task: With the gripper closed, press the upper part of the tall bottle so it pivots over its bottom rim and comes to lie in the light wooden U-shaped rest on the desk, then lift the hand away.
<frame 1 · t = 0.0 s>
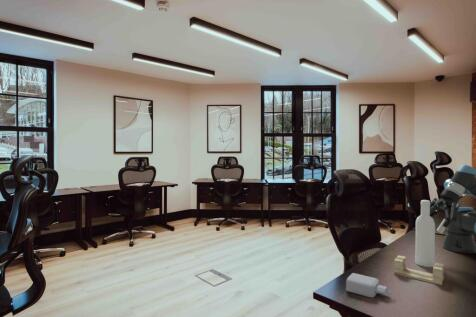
hand: (428, 228, 146), 15 cm above the table, tool tilted 35°, fingers open, 13 cm apart
bottle rest: (418, 276, 126), on the table
grey boxy necked piece: (370, 293, 111), on the table
bottle: (424, 264, 140), on the table
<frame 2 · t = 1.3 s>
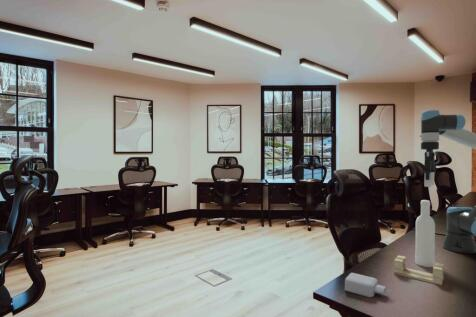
hand: (429, 185, 148), 36 cm above the table, tool pointing down, fingers open, 11 cm apart
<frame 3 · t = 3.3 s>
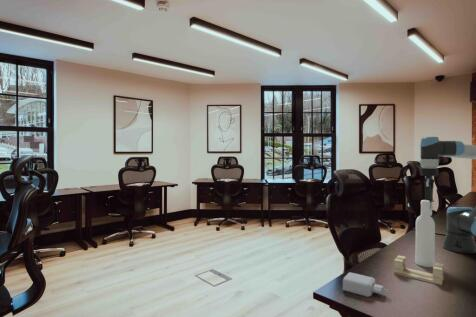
hand: (428, 214, 149), 21 cm above the table, tool pointing down, fingers closed
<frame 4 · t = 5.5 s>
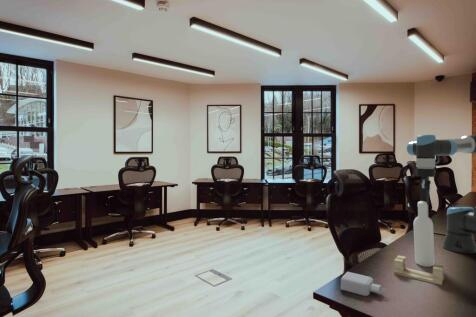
hand: (424, 218, 139), 22 cm above the table, tool pointing down, fingers closed
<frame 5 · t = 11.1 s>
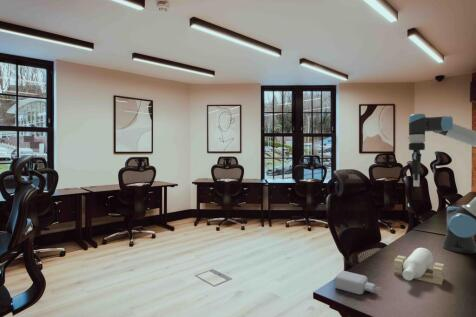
hand: (416, 186, 161), 34 cm above the table, tool pointing down, fingers closed
grey boxy necked piece: (358, 290, 113), on the table
bottle: (423, 255, 137), point 5 cm above the table, touching bottle rest
at the end: bottle tilted 90°; bottle touching bottle rest; the gripper is holding nothing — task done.
